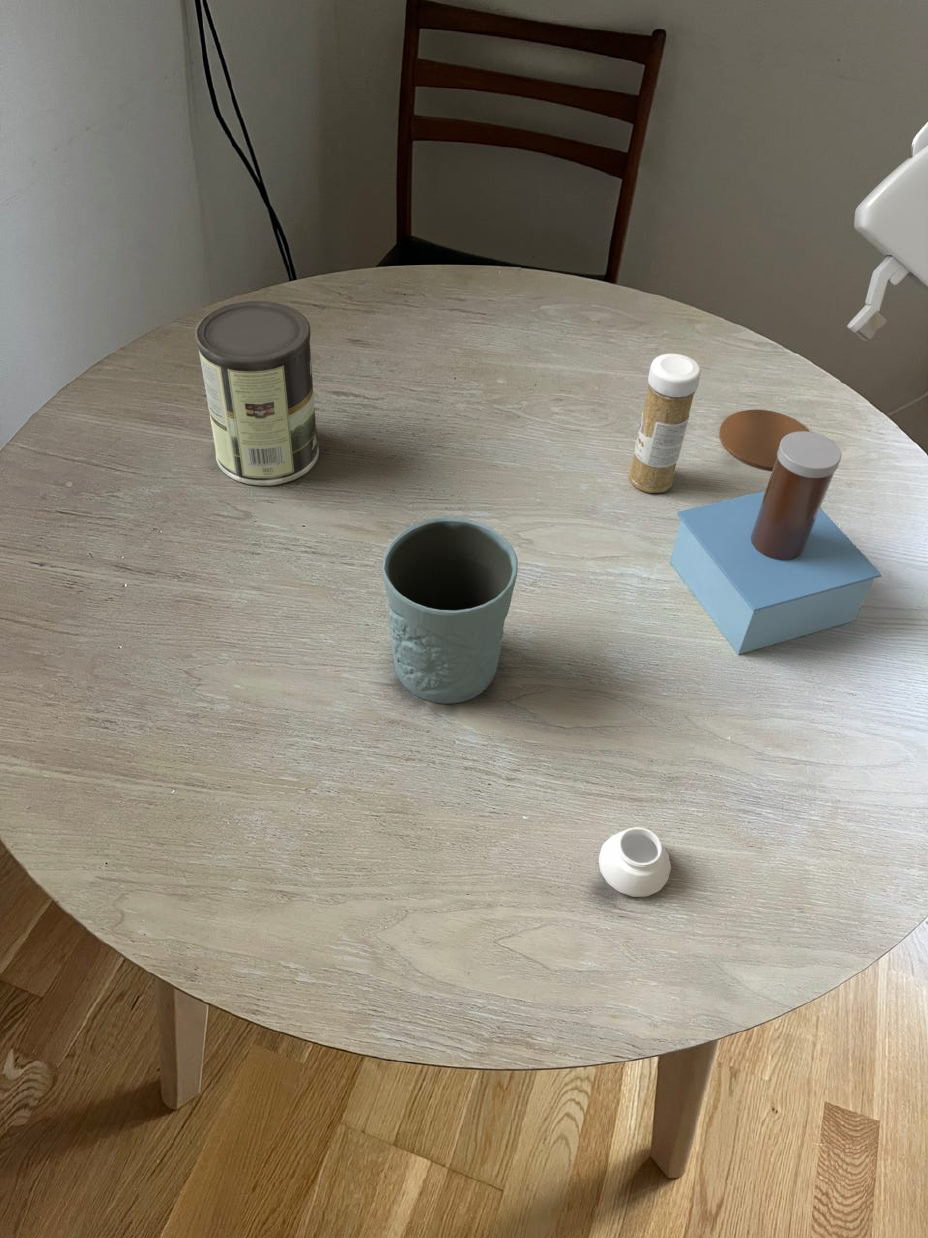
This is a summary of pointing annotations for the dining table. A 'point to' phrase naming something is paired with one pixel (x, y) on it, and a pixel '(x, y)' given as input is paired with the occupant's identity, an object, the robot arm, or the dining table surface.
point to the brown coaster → (757, 435)
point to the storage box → (767, 575)
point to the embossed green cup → (448, 606)
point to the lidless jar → (635, 862)
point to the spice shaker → (794, 494)
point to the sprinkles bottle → (663, 421)
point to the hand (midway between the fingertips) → (910, 381)
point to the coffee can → (259, 391)
